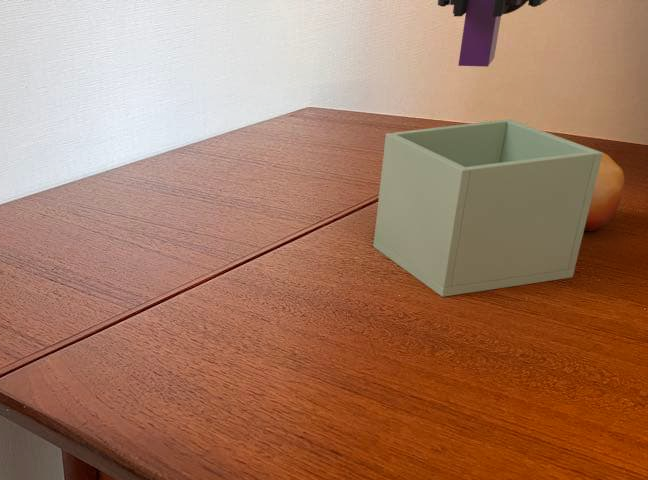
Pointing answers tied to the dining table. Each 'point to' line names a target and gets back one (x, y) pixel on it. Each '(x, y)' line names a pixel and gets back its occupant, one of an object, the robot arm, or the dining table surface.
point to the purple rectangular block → (479, 34)
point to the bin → (484, 205)
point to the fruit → (605, 194)
